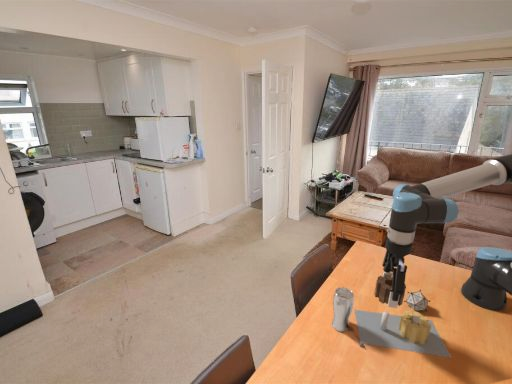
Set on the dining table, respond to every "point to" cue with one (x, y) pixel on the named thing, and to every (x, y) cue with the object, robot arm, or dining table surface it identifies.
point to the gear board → (395, 334)
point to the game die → (417, 301)
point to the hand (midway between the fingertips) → (388, 296)
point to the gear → (414, 327)
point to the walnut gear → (386, 289)
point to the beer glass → (342, 308)
